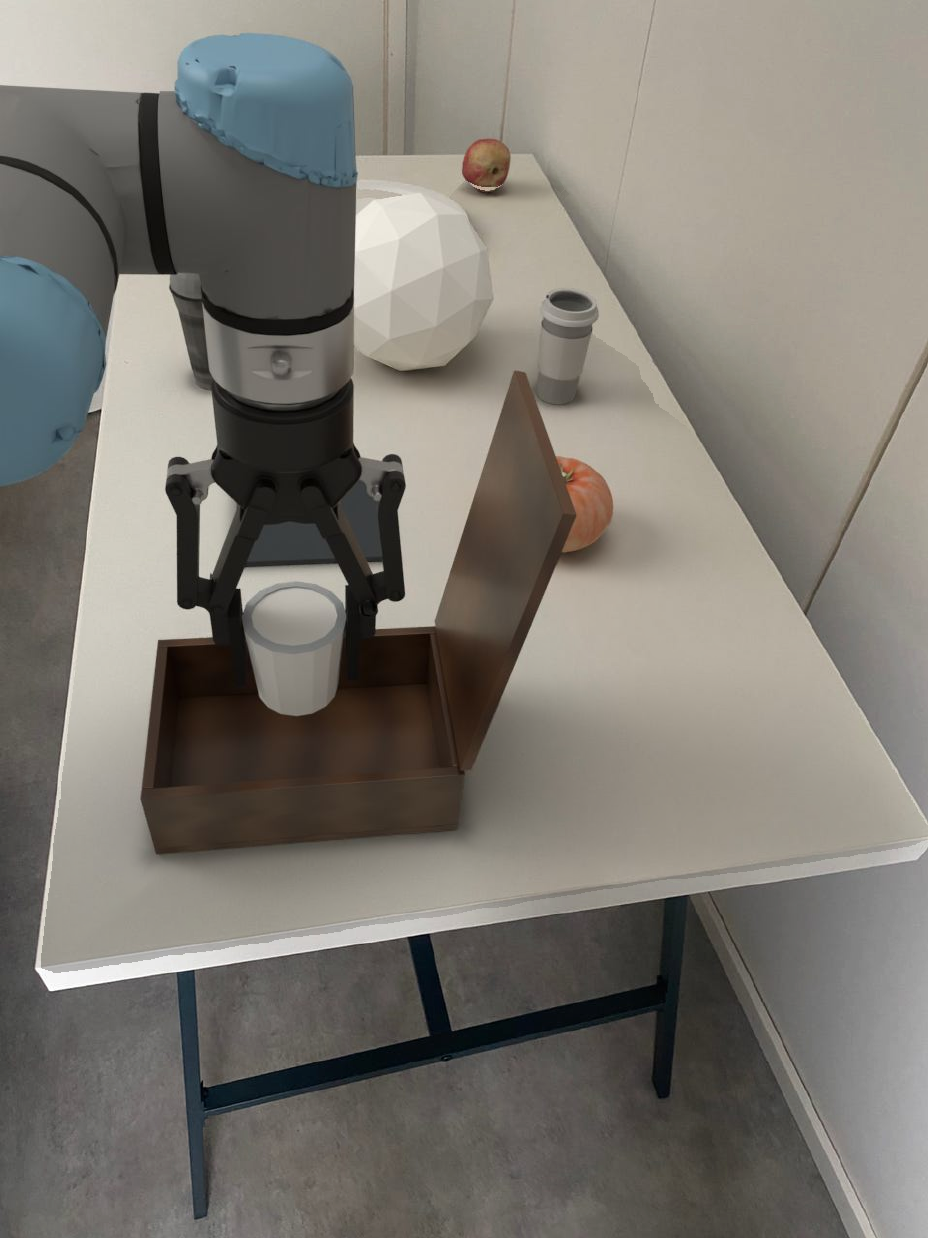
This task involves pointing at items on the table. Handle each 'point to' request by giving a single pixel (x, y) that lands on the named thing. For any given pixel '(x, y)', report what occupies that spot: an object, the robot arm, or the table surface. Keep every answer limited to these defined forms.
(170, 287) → the beverage cup
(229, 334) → the robot arm
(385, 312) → the ball
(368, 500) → the drying mat
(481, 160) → the fruit
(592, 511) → the tomato
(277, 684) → the white grey-rimmed cylinder
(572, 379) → the cup
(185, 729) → the chest
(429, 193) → the plate
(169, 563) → the table surface
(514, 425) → the chest lid
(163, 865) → the table surface
